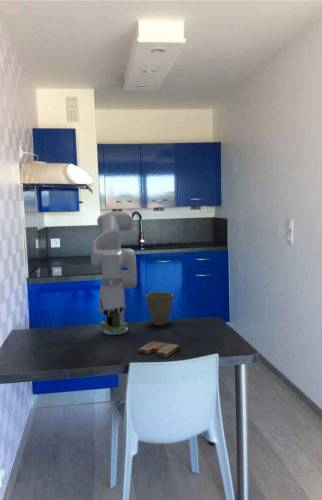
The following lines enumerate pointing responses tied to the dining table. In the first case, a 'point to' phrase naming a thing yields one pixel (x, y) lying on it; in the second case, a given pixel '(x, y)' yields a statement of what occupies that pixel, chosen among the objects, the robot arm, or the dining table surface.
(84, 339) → the dining table surface
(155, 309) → the plant pot
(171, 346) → the notched brown wooden block
